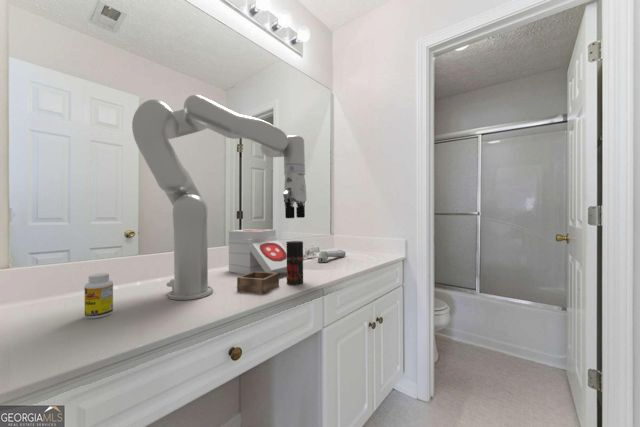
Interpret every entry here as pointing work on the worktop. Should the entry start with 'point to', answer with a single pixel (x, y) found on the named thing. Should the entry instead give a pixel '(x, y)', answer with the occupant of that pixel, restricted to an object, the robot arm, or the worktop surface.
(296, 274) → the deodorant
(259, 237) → the white stacked boxes
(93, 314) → the supplement bottle
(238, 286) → the holder
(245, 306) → the worktop surface
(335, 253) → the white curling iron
